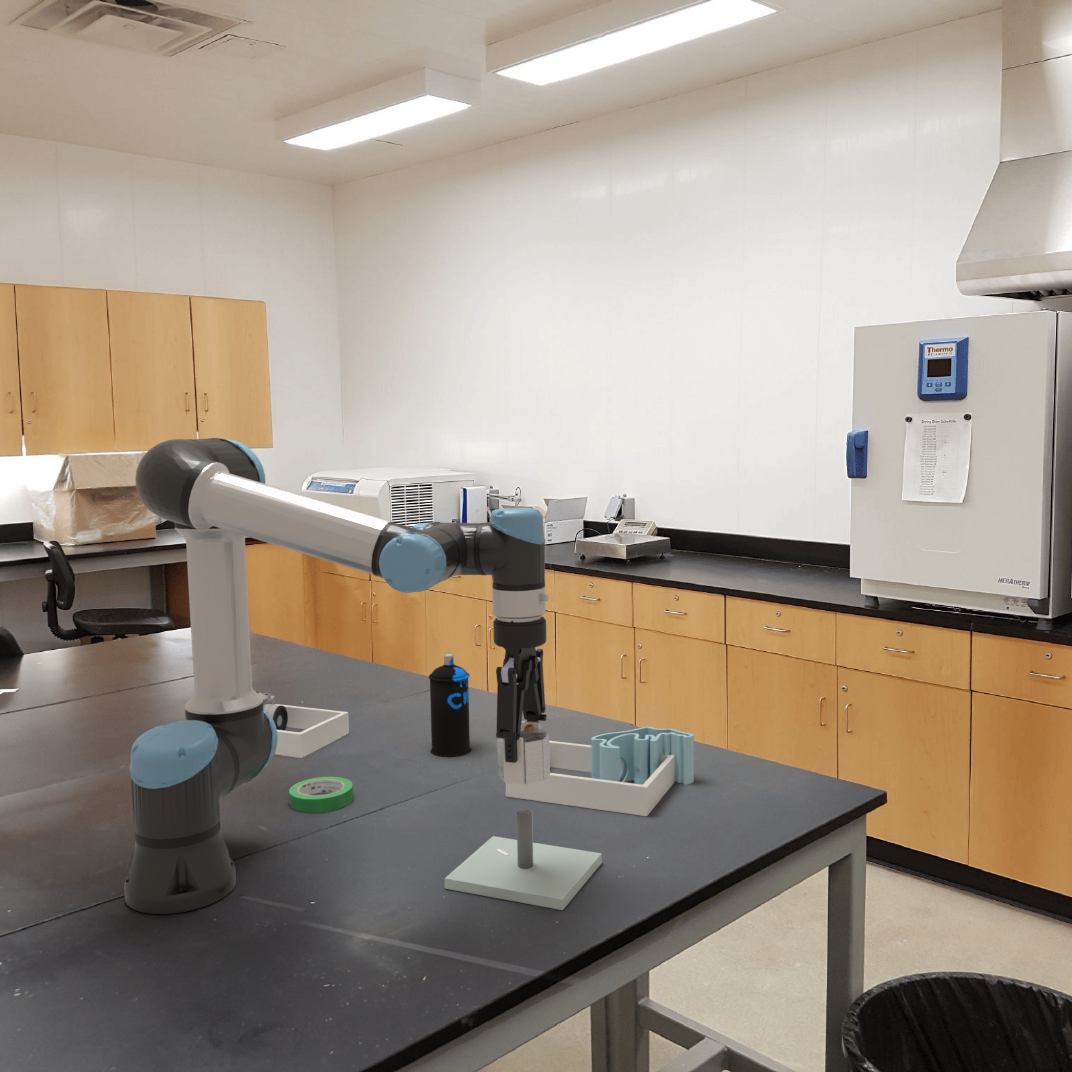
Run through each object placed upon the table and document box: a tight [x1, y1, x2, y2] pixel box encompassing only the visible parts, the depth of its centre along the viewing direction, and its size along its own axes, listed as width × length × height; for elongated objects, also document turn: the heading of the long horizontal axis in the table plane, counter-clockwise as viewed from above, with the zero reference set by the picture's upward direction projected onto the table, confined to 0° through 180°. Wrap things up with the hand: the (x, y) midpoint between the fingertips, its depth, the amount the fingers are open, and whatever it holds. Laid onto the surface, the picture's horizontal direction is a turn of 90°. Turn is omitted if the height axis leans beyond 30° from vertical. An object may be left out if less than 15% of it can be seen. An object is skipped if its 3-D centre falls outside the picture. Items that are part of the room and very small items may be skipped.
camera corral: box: [274, 703, 350, 759], centre depth 213 cm, size 17×24×5 cm
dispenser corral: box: [505, 740, 676, 817], centre depth 181 cm, size 18×26×5 cm
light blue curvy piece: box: [590, 725, 695, 786], centre depth 183 cm, size 18×10×9 cm, turn 120°
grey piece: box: [496, 724, 551, 784], centre depth 145 cm, size 7×7×7 cm
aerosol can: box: [428, 653, 472, 758], centre depth 203 cm, size 8×8×20 cm
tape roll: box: [288, 776, 354, 814], centre depth 178 cm, size 11×11×3 cm
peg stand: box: [444, 808, 603, 911], centre depth 146 cm, size 16×18×10 cm
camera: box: [254, 690, 288, 731], centre depth 214 cm, size 16×9×10 cm, turn 167°
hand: (523, 773), depth 145 cm, fingers closed on grey piece, 7 cm apart
